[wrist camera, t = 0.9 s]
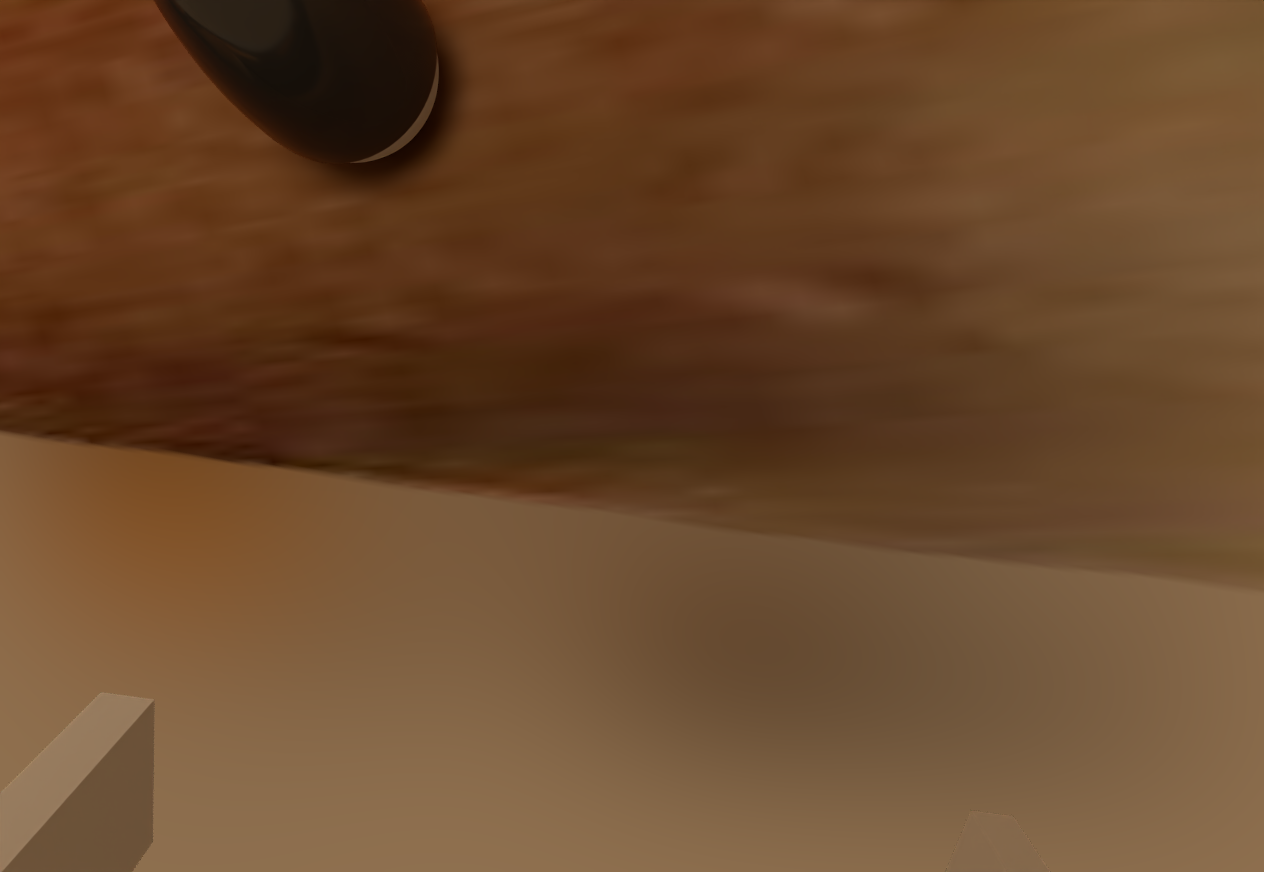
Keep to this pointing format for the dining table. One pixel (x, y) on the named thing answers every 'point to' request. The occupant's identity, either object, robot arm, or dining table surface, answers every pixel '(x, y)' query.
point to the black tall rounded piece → (318, 69)
